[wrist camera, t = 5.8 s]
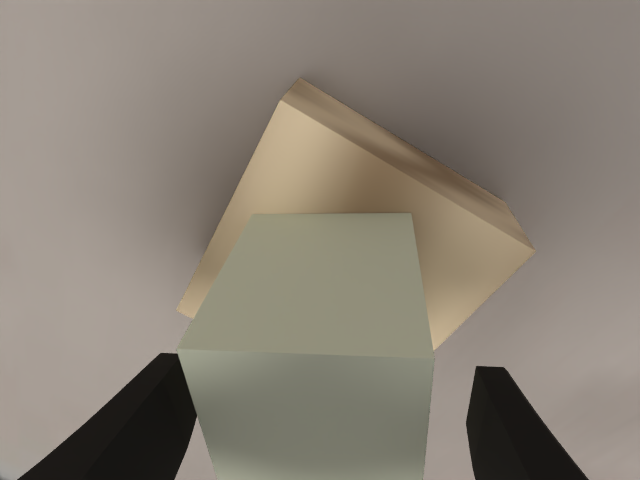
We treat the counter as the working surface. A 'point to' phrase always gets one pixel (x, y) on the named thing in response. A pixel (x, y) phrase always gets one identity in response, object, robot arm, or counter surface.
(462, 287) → the maple slab
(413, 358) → the sage block
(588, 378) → the counter surface
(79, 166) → the counter surface
